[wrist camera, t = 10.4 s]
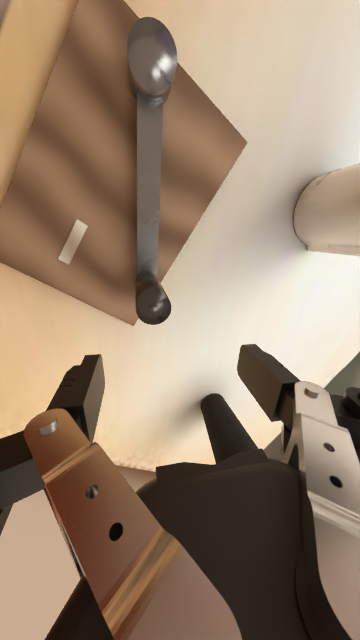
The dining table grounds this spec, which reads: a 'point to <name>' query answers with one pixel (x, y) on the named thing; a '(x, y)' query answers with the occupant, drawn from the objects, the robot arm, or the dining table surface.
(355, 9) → the dining table surface
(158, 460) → the dining table surface
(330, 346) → the dining table surface
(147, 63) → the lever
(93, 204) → the board
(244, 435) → the drinking cup
